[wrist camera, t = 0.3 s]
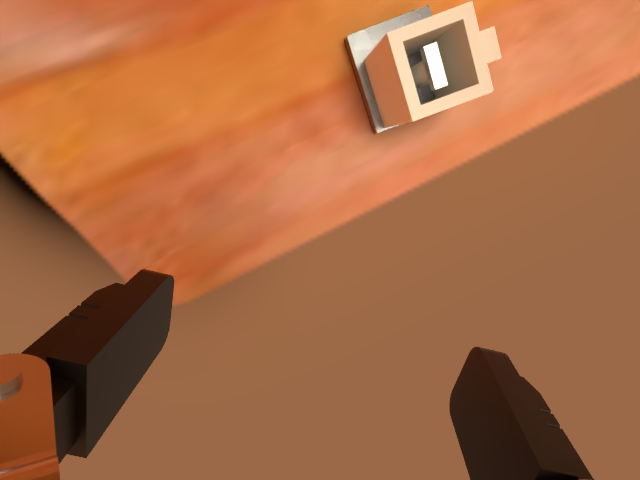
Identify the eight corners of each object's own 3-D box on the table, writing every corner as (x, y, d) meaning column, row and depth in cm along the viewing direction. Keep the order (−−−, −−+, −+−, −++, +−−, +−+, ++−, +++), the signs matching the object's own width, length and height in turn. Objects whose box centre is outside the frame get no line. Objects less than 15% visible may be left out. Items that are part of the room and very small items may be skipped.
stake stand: (344, 40, 33) (361, 5, 25) (422, 11, 33) (466, -35, 25) (373, 133, 35) (399, 129, 27) (448, 105, 35) (496, 92, 27)
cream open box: (363, 60, 32) (386, 32, 25) (442, 31, 32) (490, -7, 25) (384, 128, 34) (412, 121, 26) (460, 99, 34) (511, 84, 26)
